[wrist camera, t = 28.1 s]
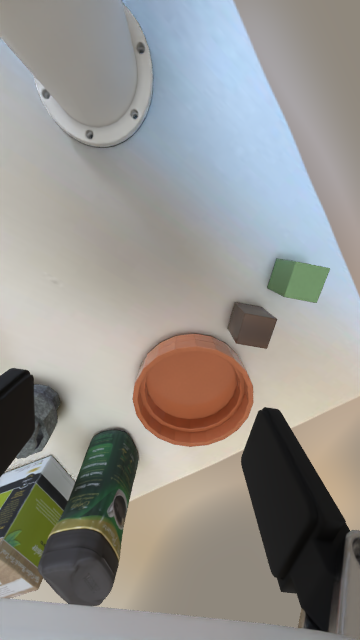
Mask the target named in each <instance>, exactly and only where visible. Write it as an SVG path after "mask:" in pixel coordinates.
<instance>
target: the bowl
mask: <svg viewBox="0 0 360 640" xmlns="http://www.w3.org/2000/svg"><path fill="white" fill-rule="evenodd" d="M133 403H134V407H135V411H136V414H137V416H138V418H139V419H140V421H141V422H142V424H143V425H144V427H145V428H146V429H147V430H149V431H150V432H151V433H152V434H154V435H155V436H156V437H157V438H159V439H162V440H164V441H167V442H169V443H172V444H175V445H182V446H189V447H192V446H202V445H209V444H212V443H215V442H218V441H220V440H223V439H225V438H227V437H228V436H229V435H231V434H232V433H234V432H235V431H237V430H238V429H239V428H240V427H241V425H242V424H243V423H244V422H245V420H246V419H247V418H248V416H249V413H250V410H251V407H252V405H253V385H252V383H251V381H250V378H249V376H248V374H247V371H246V370H245V368H244V366H243V364H242V362H241V360H240V358H239V356H238V355H237V354H236V353H235V352H234V351H233V350H232V349H231V348H230V347H229V346H228V345H227V344H225V343H223V342H221V341H220V340H218V339H216V338H214V337H211V336H206V335H200V334H187V335H179V336H174V337H172V338H170V339H168V340H165V341H163V342H161V343H159V344H158V345H157V346H156V347H155V348H154V349H153V350H151V351H150V352H149V353H148V354H147V356H146V358H145V359H144V361H143V363H142V365H141V367H140V369H139V372H138V375H137V379H136V382H135V386H134V393H133Z"/></svg>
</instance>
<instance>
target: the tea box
mask: <svg viewBox="0 0 360 640" xmlns="http://www.w3.org/2000/svg"><path fill="white" fill-rule="evenodd" d="M74 485H75V481H74V480H73V479H72V478H71V477H70V476H69V474H68V473H67V472H66V471H65V470H64V469H63V468H62V466H61V465H60V464H59V463H58V462H57V461H56V460H55V459H54V458H53V457H52V456H49V457H46V458H44V459H41V460H39V461H36V462H33V463H31V464H28V465H25V466H23V467H20V468H17V469H15V470H12V471H9V472H7V473H4V474H3V475H2V476H1V477H0V598H8V599H10V598H13V597H16V596H20V595H22V594H25V593H28V592H32V591H36V590H38V589H39V586H40V584H41V582H42V579H43V577H42V576H41V575H40V573H39V572H38V564H39V561H40V559H41V556H42V553H43V550H44V547H45V545H46V542H47V540H48V536H49V535H50V533H51V531H52V529H53V528H54V526H55V525H56V524H57V522H58V521H59V519H60V517H61V515H62V513H63V511H64V509H65V507H66V505H67V502H68V500H69V497H70V495H71V492H72V490H73V487H74Z"/></svg>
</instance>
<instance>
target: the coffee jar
mask: <svg viewBox="0 0 360 640" xmlns="http://www.w3.org/2000/svg"><path fill="white" fill-rule="evenodd" d="M138 460H139V458H138V453H137V450H136V448H135V445H134V443H133V441H132V440H131V438H130V436H129V435H128V434H127V433H126V432H123V431H119V430H110V431H105V432H102V433H99V434H97V435H96V436H94V437H93V439H92V441H91V443H90V445H89V448H88V450H87V452H86V455H85V458H84V461H83V464H82V466H81V469H80V472H79V474H78V477H77V480H76V482H75V485H74V487H73V490H72V492H71V495H70V497H69V500H68V502H67V505H66V507H65V509H64V511H63V513H62V515H61V517H60V519H59V521H58V522H57V524H56V525H55V526H54V528H53V529H52V531H51V533H50V535H49V536H48V540H47V542H46V545H45V547H44V550H43V553H42V556H41V559H40V561H39V564H38V572H39V573H40V575H41V576H42V577H43V578H44V579H45V580H46V582H47V583H48V584H49V585H50V586H51V587H52V588H53V590H54V591H55V592H56V593H57V594H58V595H59V596H60V597H61V598H63V599H64V600H65V601H66V602H67V603H68V604H73V605H84V606H97V605H100V604H101V603H102V602H103V600H104V599H105V598H106V597H107V596H108V594H109V593H110V591H111V589H112V587H113V583H114V580H115V576H116V572H117V568H118V563H119V559H120V549H121V541H122V534H123V527H124V522H125V517H126V513H127V508H128V503H129V499H130V495H131V491H132V486H133V482H134V478H135V474H136V470H137V465H138Z"/></svg>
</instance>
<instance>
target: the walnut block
mask: <svg viewBox="0 0 360 640" xmlns="http://www.w3.org/2000/svg"><path fill="white" fill-rule="evenodd" d="M276 321H277V319H276V318H275V317H274V316H272V315H271V314H270V313H269V312H267V311H266V310H265V309H263V308H262V307H258V306H253V305H247V304H242V303H236V302H235V303H234V307H233V310H232V314H231V318H230V321H229V325H228V330H229V331H230V333H231V335H232V337H233V339H234V340H235V342H236V343H237V344H242V345H248V346H254V347H260V348H266V349H267V347H268V344H269V341H270V338H271V335H272V333H273V330H274V327H275V324H276Z"/></svg>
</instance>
